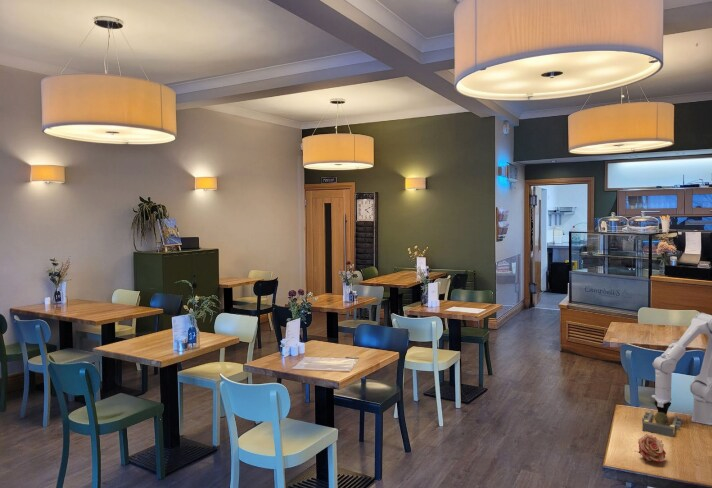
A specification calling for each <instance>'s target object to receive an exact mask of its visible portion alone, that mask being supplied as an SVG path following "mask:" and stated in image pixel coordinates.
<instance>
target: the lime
mask: <svg viewBox="0 0 712 488" xmlns="http://www.w3.org/2000/svg"><path fill="white" fill-rule="evenodd" d="M654 420H655V423H657V424H662V425H667V424H668V423H669V417H668V414H667V415H666V414H665V413H663V412H658V411H657V412H656V413H655V415H654Z"/></svg>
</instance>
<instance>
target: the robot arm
mask: <svg viewBox="0 0 712 488" xmlns="http://www.w3.org/2000/svg"><path fill="white" fill-rule="evenodd" d="M699 335H706V336H707V337H708V340H707V344H706V349H705V352H704V356H703V360H702V364H701V367H700V371H699V374H697V375H695V376H694V379H693V381H692V382H691V383H690V385H689V390H690V393H691V394H692V397H693V411H692V412H693V415H692V416H691V422H693V423H698V424H703V425H708V426H712V315H711V314H707V313H705V312H699V313H696V315H695V316H694V317H693V318H692V319H691V323H690V325H689V326H688V328H687V329H686V330H685V331H684V333H683V334H682V336H681V337H680V338H679V340H678V341H677V342H672V343H671V344H669V345H668V347H667V348H666V350H665V351H664V352H663V353H662V354H661V355H659V356H657V357H656V358H655V359H654V360H653V362H652V367H653V368H654V373H655V375H654V376H655V381H654V382H655V383H654V387H655V388H654V394H652V395H651V398H652V399H654V405H655V407H656V409H657V413H658V412H663V413H665V414H666V415H667V416H668V411H669V408H670V407H671V405H672V399H673V398H672V378H673V377H672V375H673V374H672V373H673V372H674V371H675V370H676V368H677V367H676V366H677V363H678V362H679V361H680V359H682V357H683V356H684V355H685V354H686V348H687V347H688V346H689V345H690V344H691V343H692V342H693V341H694V340H695V339H696V338H697V337H698V336H699Z"/></svg>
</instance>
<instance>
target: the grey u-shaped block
mask: <svg viewBox="0 0 712 488" xmlns="http://www.w3.org/2000/svg"><path fill="white" fill-rule="evenodd" d="M653 417H654V411H653V410H650V412H649V411H648V412H647V411H645V414H644V415H643V417H641V419H642V420H641V423H642V428H641V429H642V432H646V433H650V434H651V433H652V434H657V435H661V436H666V437H671V438H674V435H675V430H677V431H680V430H681V427H682V424H683V419H682V418H681V417H679V415H675V416H674V419H673V421H672V424H670V425H667V424H666V425H662V424H658V423H657V422H652V420H653Z"/></svg>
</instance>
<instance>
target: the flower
mask: <svg viewBox="0 0 712 488" xmlns="http://www.w3.org/2000/svg"><path fill="white" fill-rule="evenodd" d="M637 443H638V451H637V450H634V452H637V453H639V454H640V456H642V457H643V459H644V460H645V463H646V464H647V462H648V461H650V462H652V461H656V462H657V463H658V464H660V463H661V462H664V459H666V454H667V452H666V451H665V449H664V443H663V441H662V440H660V439H658V438H657V437H656V436H653V435H652V434H651V435H649V434H648V433H645V434H644V436H643V435H642V436H641V437H640V438H639V439H638V442H637Z"/></svg>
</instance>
